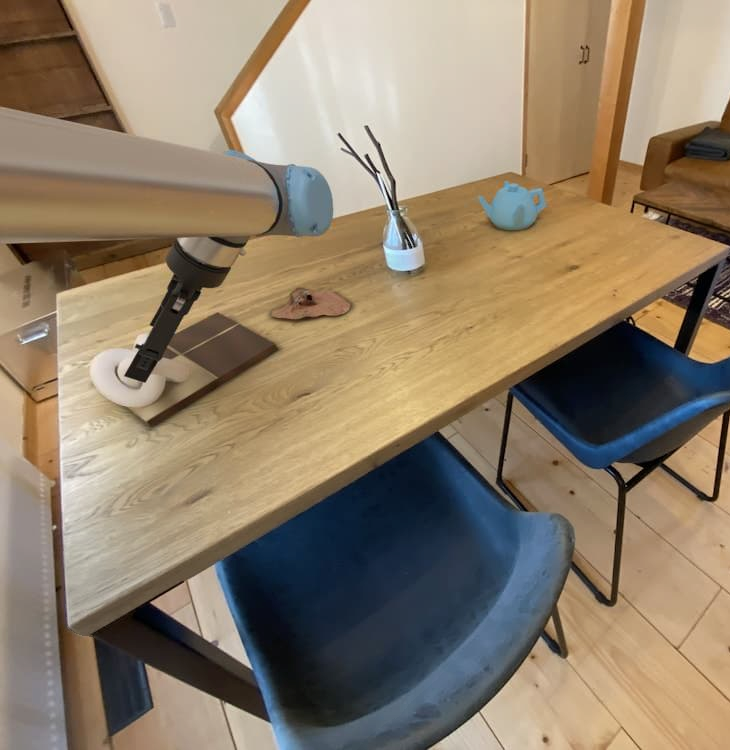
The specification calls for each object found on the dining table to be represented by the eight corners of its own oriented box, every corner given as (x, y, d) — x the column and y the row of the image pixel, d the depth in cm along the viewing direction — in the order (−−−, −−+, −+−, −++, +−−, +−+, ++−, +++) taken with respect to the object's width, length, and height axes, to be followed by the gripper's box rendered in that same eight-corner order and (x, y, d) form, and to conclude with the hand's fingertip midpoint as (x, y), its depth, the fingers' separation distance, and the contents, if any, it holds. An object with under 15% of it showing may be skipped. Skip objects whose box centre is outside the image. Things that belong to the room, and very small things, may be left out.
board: (151, 427, 71) (145, 420, 70) (96, 382, 79) (90, 375, 78) (278, 349, 86) (275, 342, 85) (220, 317, 94) (217, 311, 93)
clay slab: (360, 298, 99) (357, 286, 97) (324, 331, 90) (320, 319, 88) (307, 287, 103) (303, 275, 101) (267, 317, 94) (262, 305, 92)
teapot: (520, 238, 121) (521, 199, 113) (477, 226, 127) (475, 188, 119) (547, 219, 130) (550, 181, 122) (505, 208, 136) (505, 172, 129)
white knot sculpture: (211, 365, 80) (186, 325, 74) (174, 414, 71) (143, 373, 65) (150, 366, 80) (120, 326, 74) (106, 414, 71) (68, 374, 65)
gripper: (218, 310, 58) (154, 412, 65) (243, 232, 75) (190, 319, 82) (151, 281, 53) (90, 394, 60) (194, 205, 71) (142, 300, 78)
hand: (147, 351), depth 71 cm, fingers open, 13 cm apart
